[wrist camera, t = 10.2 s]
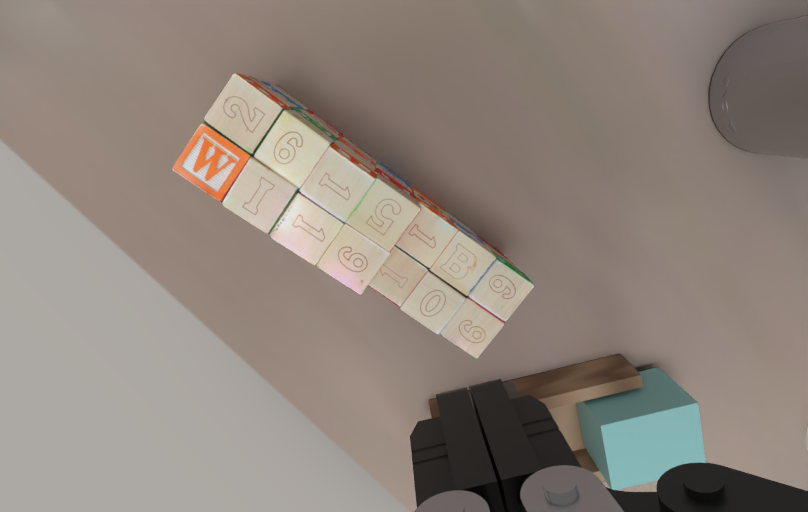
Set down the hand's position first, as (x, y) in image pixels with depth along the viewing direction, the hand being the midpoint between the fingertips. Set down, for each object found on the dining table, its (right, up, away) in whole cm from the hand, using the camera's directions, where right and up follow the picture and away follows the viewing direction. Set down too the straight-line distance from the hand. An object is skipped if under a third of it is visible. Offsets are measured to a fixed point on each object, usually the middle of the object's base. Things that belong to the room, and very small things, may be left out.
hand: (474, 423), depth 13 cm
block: (+16, -9, +35) cm, 39 cm away
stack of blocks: (-4, +8, +31) cm, 33 cm away
